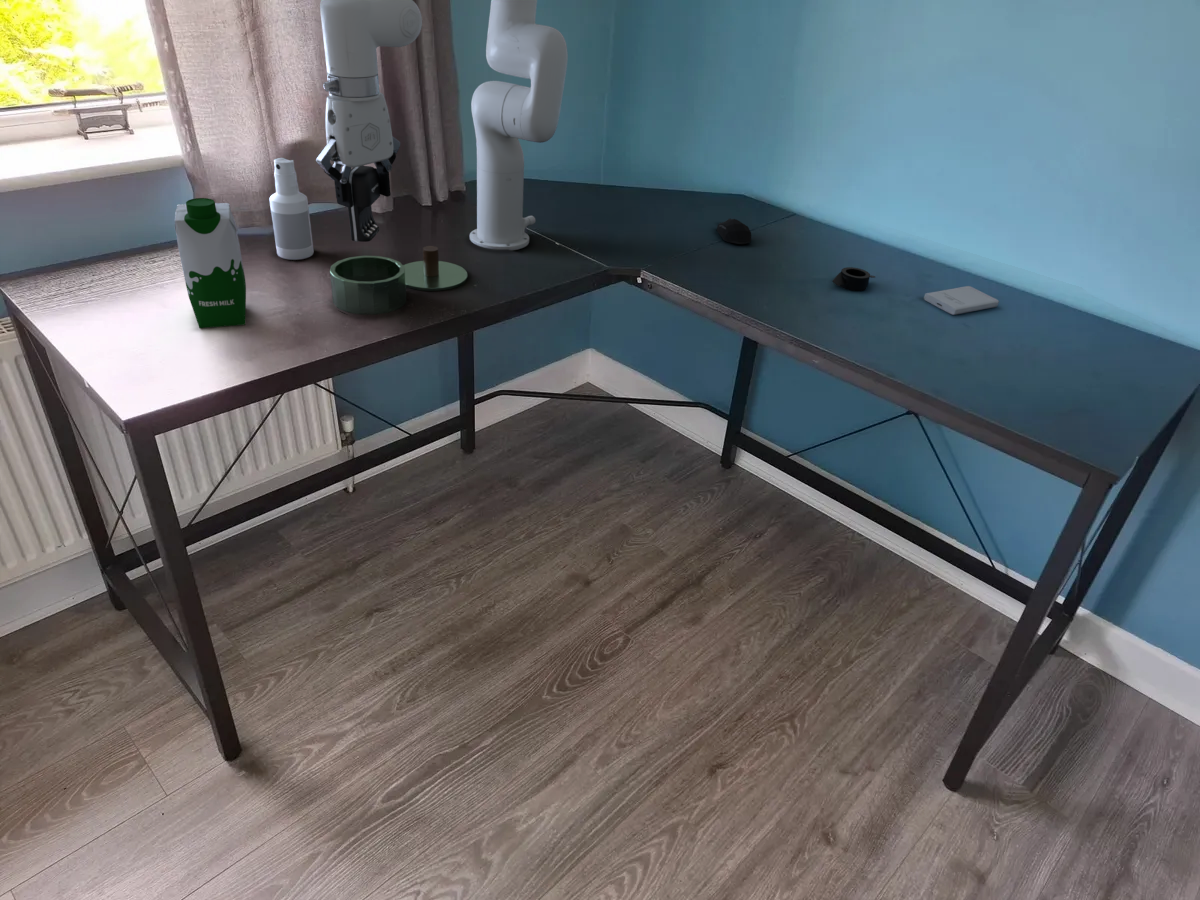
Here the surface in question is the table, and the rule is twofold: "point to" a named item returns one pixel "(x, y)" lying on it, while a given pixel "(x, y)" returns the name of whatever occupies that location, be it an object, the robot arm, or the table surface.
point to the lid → (433, 273)
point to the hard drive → (961, 300)
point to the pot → (368, 285)
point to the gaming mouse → (734, 232)
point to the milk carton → (211, 262)
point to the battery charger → (363, 202)
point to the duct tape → (853, 279)
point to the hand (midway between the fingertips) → (364, 199)
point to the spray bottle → (290, 214)
